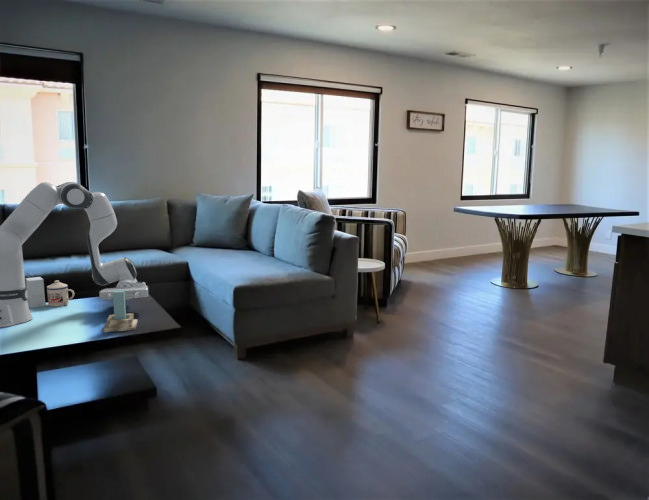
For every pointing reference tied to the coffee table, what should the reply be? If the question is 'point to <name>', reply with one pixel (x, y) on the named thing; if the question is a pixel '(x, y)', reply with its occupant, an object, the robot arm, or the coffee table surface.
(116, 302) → the post
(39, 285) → the small box
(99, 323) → the coffee table surface
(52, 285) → the teacup with lid
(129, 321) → the socket
